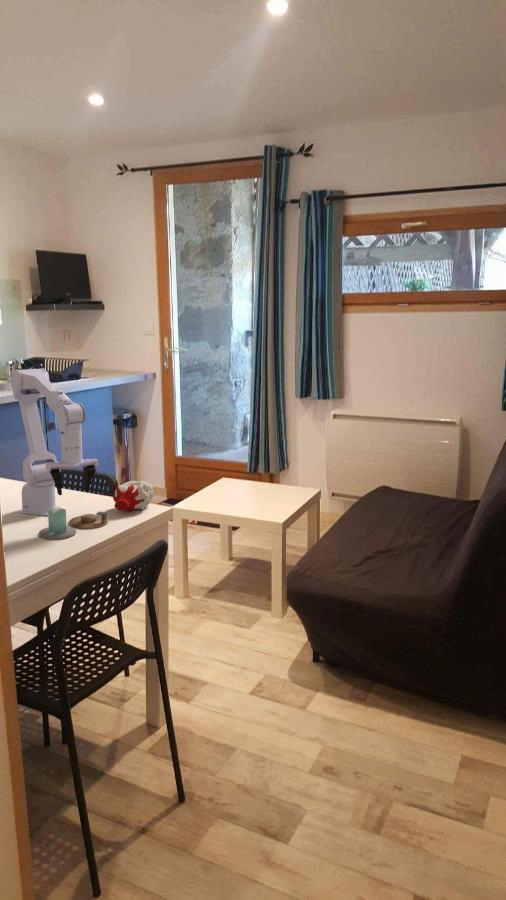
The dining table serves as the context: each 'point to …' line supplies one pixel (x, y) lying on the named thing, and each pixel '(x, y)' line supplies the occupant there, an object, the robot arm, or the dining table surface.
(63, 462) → the robot arm
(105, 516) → the tan wide-brim hat
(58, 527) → the kettle
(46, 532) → the coaster
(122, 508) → the multicoloured piece
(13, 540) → the dining table surface
